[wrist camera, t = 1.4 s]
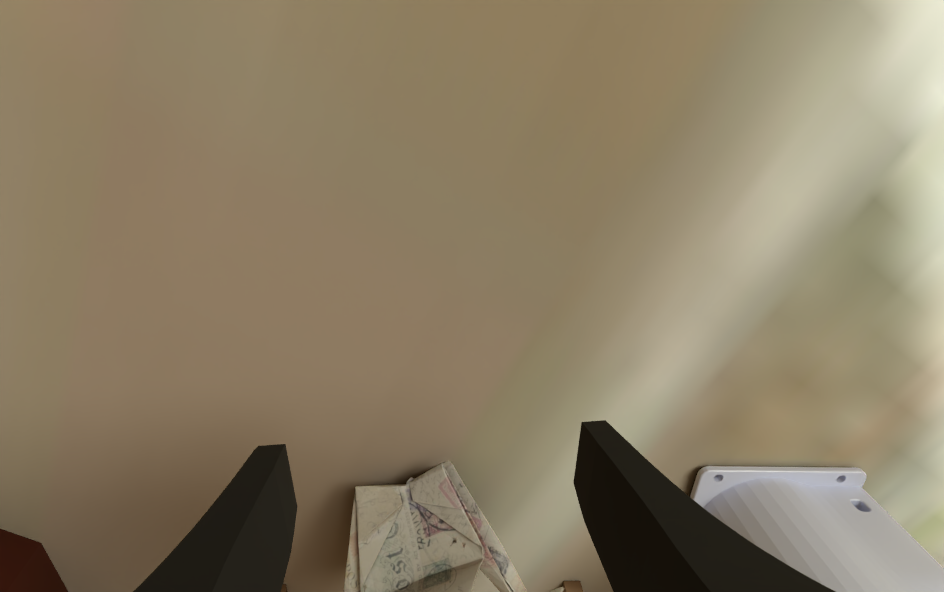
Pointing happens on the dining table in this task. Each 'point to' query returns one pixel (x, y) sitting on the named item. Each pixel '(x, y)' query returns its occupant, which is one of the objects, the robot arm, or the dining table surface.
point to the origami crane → (424, 539)
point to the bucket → (26, 566)
